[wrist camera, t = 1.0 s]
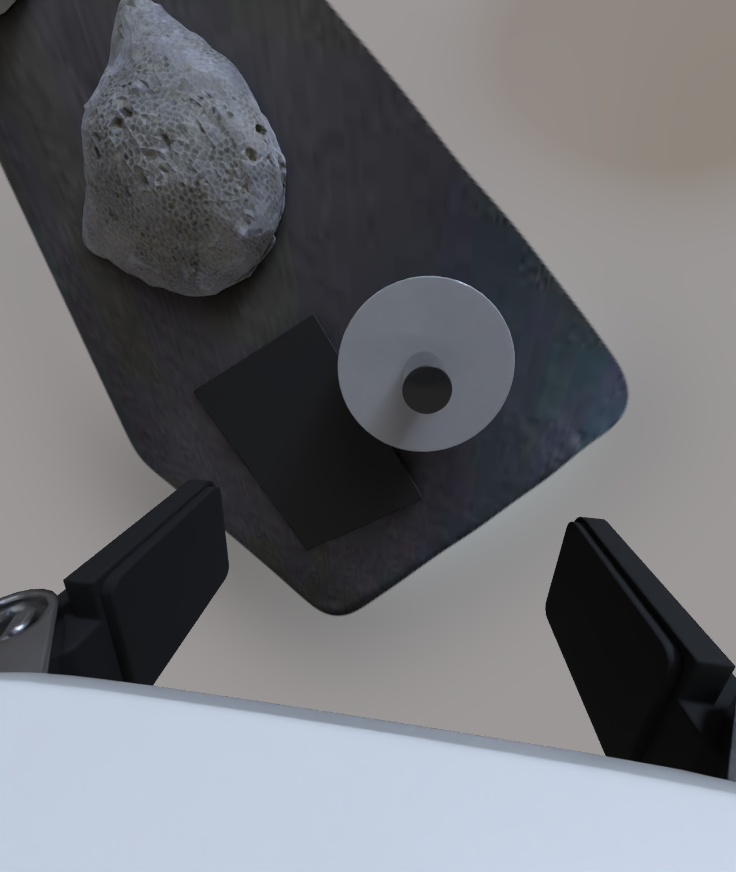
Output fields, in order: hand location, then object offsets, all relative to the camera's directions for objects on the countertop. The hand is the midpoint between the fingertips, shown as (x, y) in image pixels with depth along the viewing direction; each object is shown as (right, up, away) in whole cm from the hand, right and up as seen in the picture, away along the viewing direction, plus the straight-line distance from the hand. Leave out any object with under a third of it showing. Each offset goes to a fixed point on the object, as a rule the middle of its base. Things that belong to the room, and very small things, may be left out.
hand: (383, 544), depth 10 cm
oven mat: (-6, +2, +26) cm, 27 cm away
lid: (+3, +7, +15) cm, 17 cm away
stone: (-14, +23, +19) cm, 33 cm away
